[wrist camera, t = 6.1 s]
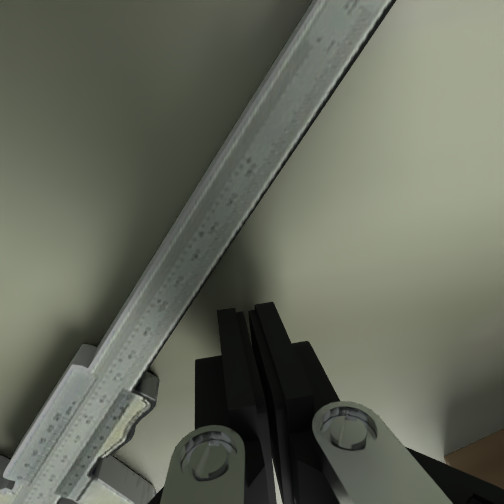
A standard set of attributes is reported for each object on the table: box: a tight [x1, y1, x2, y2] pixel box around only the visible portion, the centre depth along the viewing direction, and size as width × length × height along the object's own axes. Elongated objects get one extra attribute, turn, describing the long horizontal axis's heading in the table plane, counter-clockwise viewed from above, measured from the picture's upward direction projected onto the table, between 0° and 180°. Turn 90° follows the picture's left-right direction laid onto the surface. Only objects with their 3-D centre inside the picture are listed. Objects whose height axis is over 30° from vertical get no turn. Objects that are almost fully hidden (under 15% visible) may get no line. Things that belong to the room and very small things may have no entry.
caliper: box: [0, 0, 396, 504], centre depth 10 cm, size 20×1×6 cm
